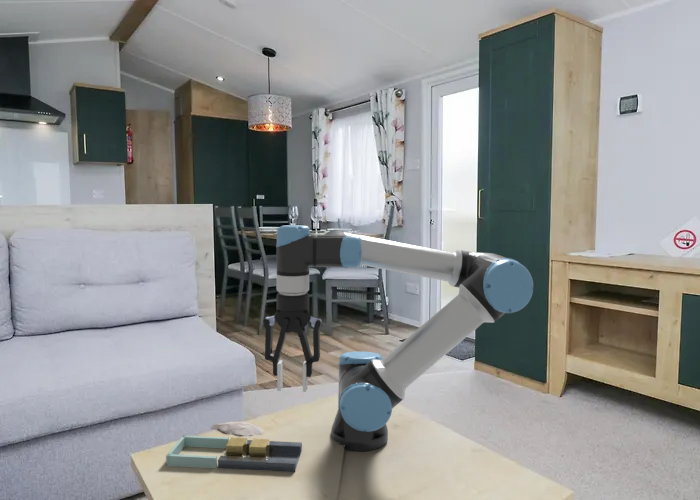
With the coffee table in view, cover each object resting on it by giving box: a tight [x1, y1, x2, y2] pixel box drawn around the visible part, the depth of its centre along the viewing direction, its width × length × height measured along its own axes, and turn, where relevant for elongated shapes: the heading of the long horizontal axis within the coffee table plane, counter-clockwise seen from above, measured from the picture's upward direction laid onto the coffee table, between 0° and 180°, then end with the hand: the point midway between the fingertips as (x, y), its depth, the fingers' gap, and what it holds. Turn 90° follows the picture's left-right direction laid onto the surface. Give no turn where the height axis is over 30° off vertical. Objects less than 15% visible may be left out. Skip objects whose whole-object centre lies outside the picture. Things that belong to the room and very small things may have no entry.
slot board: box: [217, 439, 303, 473], centre depth 121 cm, size 18×10×3 cm, turn 86°
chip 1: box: [225, 437, 248, 457], centre depth 121 cm, size 4×4×4 cm
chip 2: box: [249, 438, 270, 458], centre depth 121 cm, size 4×4×4 cm
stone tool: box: [210, 421, 265, 437], centre depth 136 cm, size 8×3×15 cm
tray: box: [165, 435, 230, 469], centre depth 122 cm, size 12×10×3 cm
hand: (292, 388), depth 119 cm, fingers open, 5 cm apart
